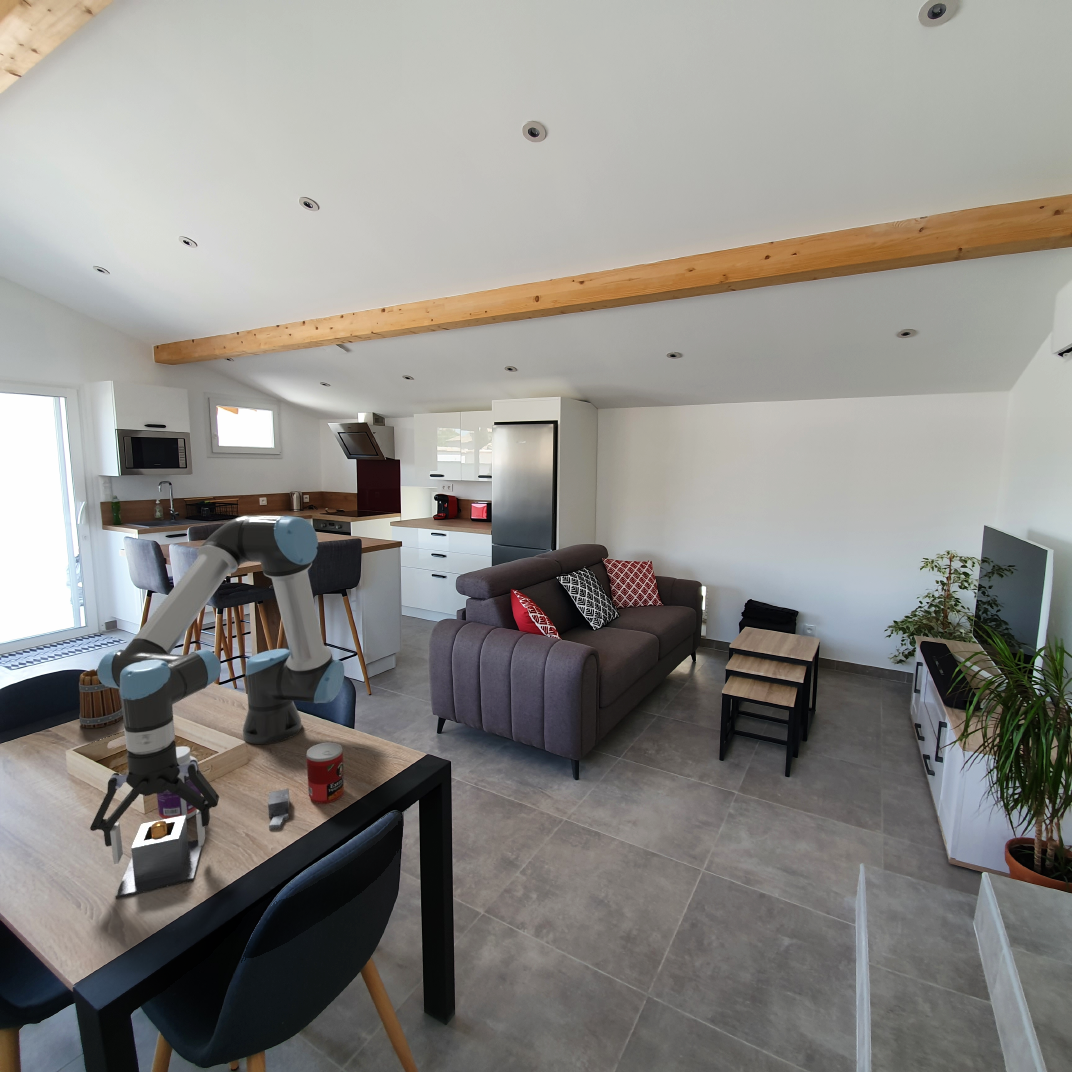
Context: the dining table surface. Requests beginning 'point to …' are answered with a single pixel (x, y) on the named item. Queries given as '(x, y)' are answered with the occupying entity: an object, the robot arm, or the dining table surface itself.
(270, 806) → the grey block with tab
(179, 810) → the pill bottle
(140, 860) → the end link
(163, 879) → the keeper base
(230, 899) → the dining table surface
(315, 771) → the canned food
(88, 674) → the mug
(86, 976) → the dining table surface
